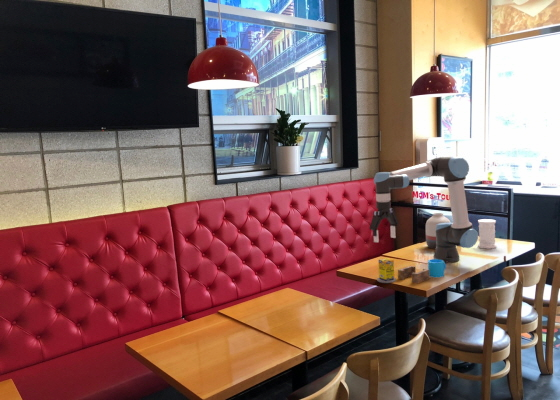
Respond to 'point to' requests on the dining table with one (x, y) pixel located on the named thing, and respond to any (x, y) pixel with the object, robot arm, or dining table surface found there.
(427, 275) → the pocket
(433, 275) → the mug
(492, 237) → the decorative container
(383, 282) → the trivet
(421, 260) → the dining table surface
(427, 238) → the vase
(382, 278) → the supplement box
